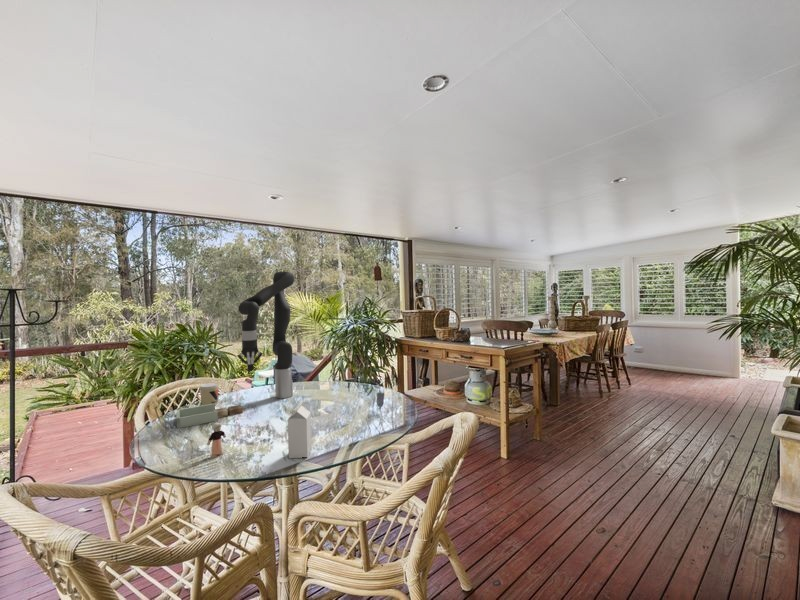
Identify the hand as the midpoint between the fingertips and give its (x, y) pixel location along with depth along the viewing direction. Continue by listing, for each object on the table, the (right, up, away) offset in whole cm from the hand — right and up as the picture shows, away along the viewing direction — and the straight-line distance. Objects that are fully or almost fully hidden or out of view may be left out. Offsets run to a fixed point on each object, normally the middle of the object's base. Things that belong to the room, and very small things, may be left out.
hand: (250, 371), depth 189 cm
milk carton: (+42, -22, -53) cm, 71 cm away
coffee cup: (-26, -21, +8) cm, 34 cm away
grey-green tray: (-21, -22, -13) cm, 33 cm away
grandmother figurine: (+9, -22, -52) cm, 57 cm away
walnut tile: (-6, -21, -4) cm, 23 cm away
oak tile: (-12, -22, -7) cm, 26 cm away
